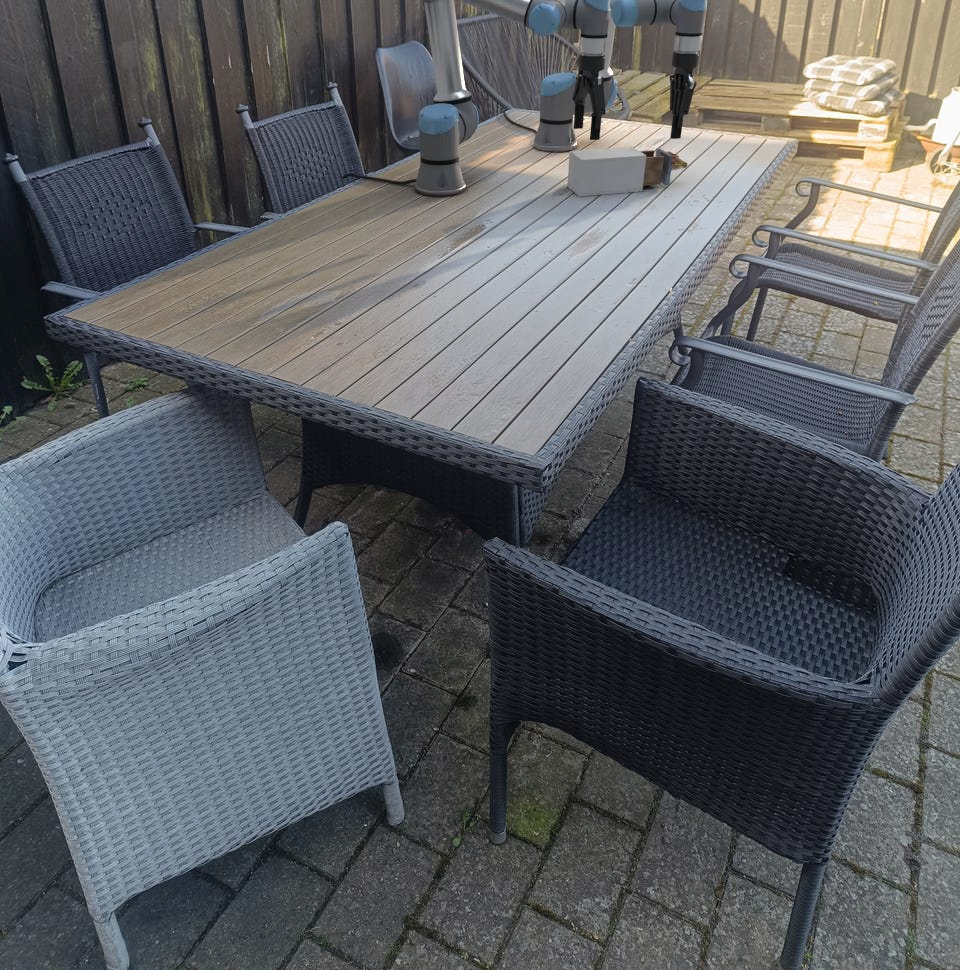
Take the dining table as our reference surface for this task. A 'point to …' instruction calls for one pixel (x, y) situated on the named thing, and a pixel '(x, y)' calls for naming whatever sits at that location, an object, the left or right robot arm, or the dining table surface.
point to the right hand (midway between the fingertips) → (675, 138)
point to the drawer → (659, 167)
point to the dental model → (674, 156)
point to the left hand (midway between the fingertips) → (586, 134)
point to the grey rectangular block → (606, 171)
